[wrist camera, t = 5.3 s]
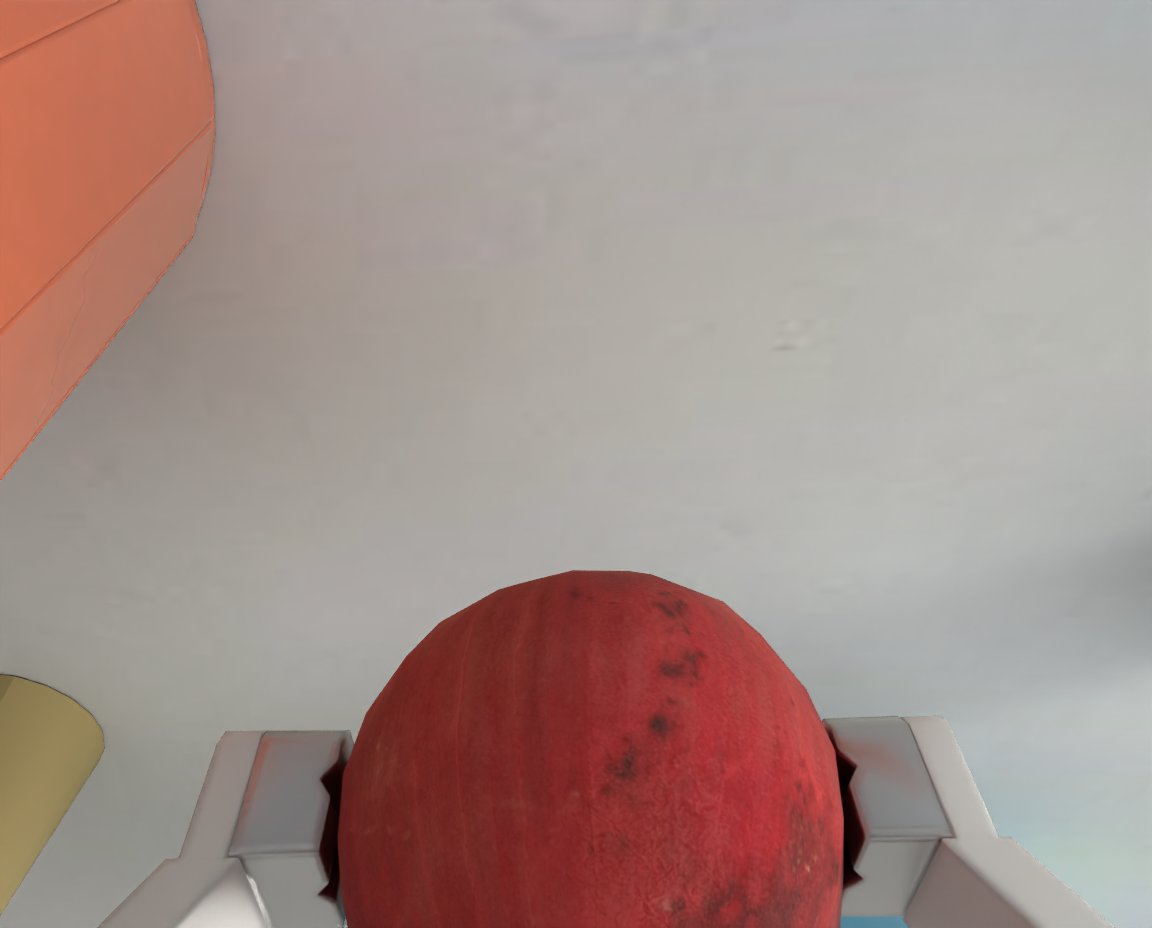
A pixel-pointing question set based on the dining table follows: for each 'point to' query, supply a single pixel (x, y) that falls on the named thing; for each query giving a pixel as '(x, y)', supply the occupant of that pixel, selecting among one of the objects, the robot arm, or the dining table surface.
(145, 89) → the pot
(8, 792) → the olive pawn piece
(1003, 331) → the dining table surface
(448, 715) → the onion
